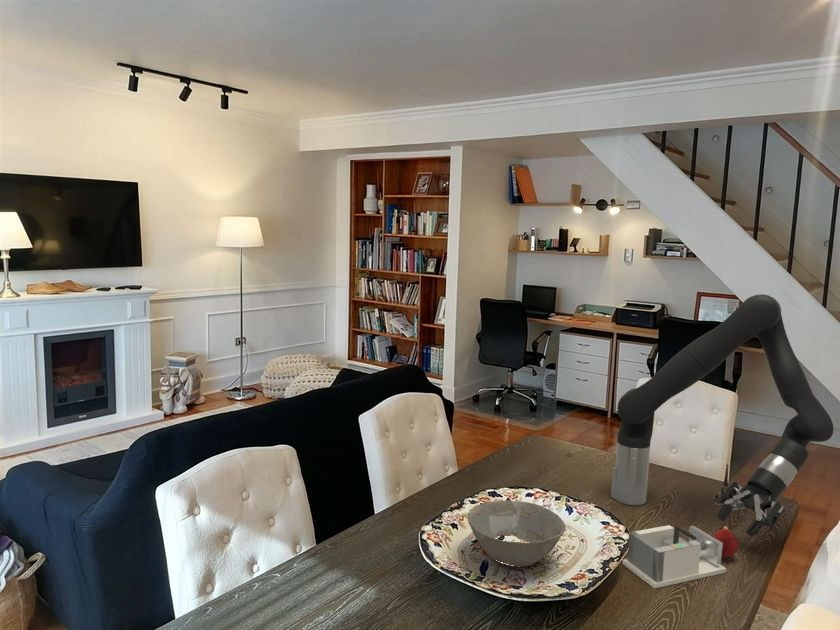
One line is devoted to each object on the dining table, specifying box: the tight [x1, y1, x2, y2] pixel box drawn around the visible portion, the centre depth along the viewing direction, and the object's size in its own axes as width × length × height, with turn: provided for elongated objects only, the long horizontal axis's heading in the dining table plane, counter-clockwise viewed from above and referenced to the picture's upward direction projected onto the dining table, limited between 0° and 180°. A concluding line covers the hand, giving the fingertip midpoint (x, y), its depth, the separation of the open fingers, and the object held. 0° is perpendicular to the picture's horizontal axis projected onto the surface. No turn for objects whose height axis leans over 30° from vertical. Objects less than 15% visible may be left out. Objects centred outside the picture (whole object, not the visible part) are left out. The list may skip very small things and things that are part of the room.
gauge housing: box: [621, 524, 727, 590], centre depth 147 cm, size 21×11×8 cm, turn 111°
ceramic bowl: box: [467, 499, 567, 567], centre depth 149 cm, size 22×23×10 cm
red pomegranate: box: [712, 525, 739, 559], centre depth 152 cm, size 6×6×8 cm
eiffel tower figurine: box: [712, 462, 747, 513], centre depth 183 cm, size 15×10×13 cm
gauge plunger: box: [662, 524, 723, 566], centre depth 147 cm, size 11×10×9 cm
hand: (734, 526), depth 153 cm, fingers open, 8 cm apart
